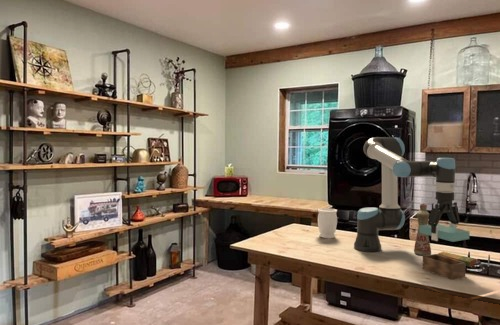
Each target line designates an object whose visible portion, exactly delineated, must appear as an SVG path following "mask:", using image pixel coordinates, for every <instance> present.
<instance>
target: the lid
mask: <svg viewBox="0 0 500 325" xmlns="http://www.w3.org/2000/svg"><path fill="white" fill-rule="evenodd" d="M437 226H438V239H441V240H444V241H449V242H452V243H454V242H459V241H466V240H470V230H465V229H461V228H457V227H456V228H453V227H449V225H444V224H439V223H438V224H437ZM420 233H422V234H426V235H429V236H430V237H432V233H431V225H428V224H427V225H420Z"/></svg>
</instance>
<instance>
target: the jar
mask: <svg viewBox="0 0 500 325" xmlns="http://www.w3.org/2000/svg"><path fill="white" fill-rule="evenodd" d="M317 212H318V214H317V225H318V230H319V234H318V235H319V237H320V238H323V239H333V238H336V236H335V233H336V231H337V225H338V216H337V213H338V209H335V208H328V207H324V208H321V207H320V208H318V209H317Z"/></svg>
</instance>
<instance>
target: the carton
mask: <svg viewBox="0 0 500 325" xmlns="http://www.w3.org/2000/svg"><path fill="white" fill-rule="evenodd" d="M437 254H438V255H441V256H444V257H448V258H451V259H454V260H458V261H461V262H464V263H466V266H468V267H471V266H472V265H473V264H475V263H476V264H477V259H476V258H472V257H468V256H465V255H460V254H456V253H451V252H446V251H441V252H439V253H437ZM468 267H467V268H468ZM471 268H472V267H471Z"/></svg>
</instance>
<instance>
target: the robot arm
mask: <svg viewBox="0 0 500 325" xmlns="http://www.w3.org/2000/svg"><path fill="white" fill-rule="evenodd" d="M405 150H406V148H405V144H404V141H403V140H402V139H401V138H400V137H396V136H395V137H393V136H391V137H390V136H389V137H388V136H387V137H386V136H383V137H382V136H381V137H380V136H376V137H371V138H369V139H368V140H366V141H365V143H364V145H363V153H364V154H365V155H366V157H368V158H370V159H372V160H377V161H378V162H380V163H381V204H380V205H379V207H370V206H369V207H362V208H359V210H358V211H357V215H356V219H357V220H356V221H357V224H356V227H357V228H356V237H355V240H354V242H353V248H354V249H355V250H357V251H360V252H367V253H376V252H380V251H382V244H381V241H380V238H379V231H395V230H400V229H402V228H403V226H404V224H405V221H406V216H405V212H404V211H403V210H402V209H401V206H400V205H399V203H398V197H399V196H398V190H399V189H398V185H399V184H398V178H417V177H419V178H420V177H421V178H426V177H427V178H432V177H433V178H436V179H435V191H436V192H435V200H436V202H437V203H431V210H430V213H429V219H428V224H427V225H431V233H432V236H430V237H431V241H435V242H438V241H439V238H438V226H437V224H439V222H440V220H441V218H442V215H444V214H445V213H446V215H447V217H448V219H449V224H448V226H449V227H453V228H457V225H459V224H460V221H461V220H460V216H459V211H458V202H456V201H454V200H455V193H454V192H455V184H456V183H455V180H456V159H455V158H453V157H438V158H436V161H434V160H407V159H406V158H404V157H403V156H404V154H405Z"/></svg>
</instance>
